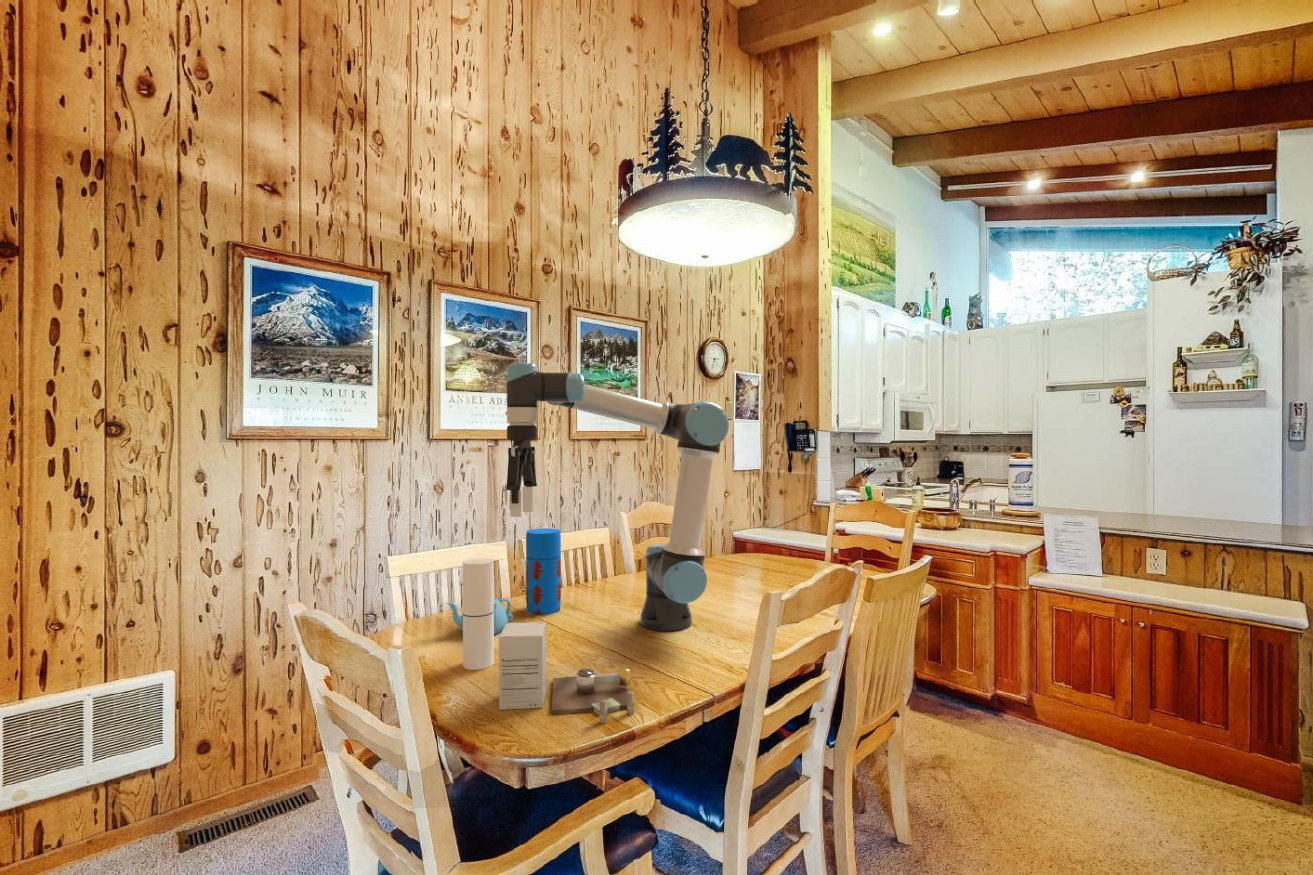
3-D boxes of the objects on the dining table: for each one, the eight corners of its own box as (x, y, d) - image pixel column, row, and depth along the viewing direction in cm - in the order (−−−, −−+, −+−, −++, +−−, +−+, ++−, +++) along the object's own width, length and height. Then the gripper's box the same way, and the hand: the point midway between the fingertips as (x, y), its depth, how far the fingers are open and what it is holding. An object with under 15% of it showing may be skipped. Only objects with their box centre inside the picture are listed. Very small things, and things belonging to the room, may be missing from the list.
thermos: (553, 616, 183) (553, 534, 183) (520, 614, 185) (520, 533, 185) (565, 606, 193) (565, 528, 193) (534, 604, 196) (534, 527, 195)
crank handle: (576, 693, 125) (576, 675, 125) (576, 685, 129) (576, 668, 129) (631, 690, 127) (631, 672, 127) (629, 682, 131) (629, 665, 131)
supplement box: (505, 691, 129) (505, 622, 129) (547, 689, 130) (547, 621, 130) (497, 710, 120) (497, 636, 120) (542, 708, 121) (542, 635, 121)
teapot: (519, 625, 175) (519, 589, 175) (494, 642, 160) (493, 603, 160) (474, 621, 178) (474, 587, 178) (445, 637, 163) (445, 600, 163)
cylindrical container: (466, 672, 140) (465, 565, 140) (460, 661, 146) (460, 559, 146) (496, 666, 143) (496, 562, 143) (490, 656, 149) (490, 556, 149)
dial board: (625, 676, 137) (625, 659, 137) (636, 721, 116) (636, 700, 116) (553, 681, 134) (553, 663, 134) (551, 727, 113) (551, 706, 113)
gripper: (521, 425, 163) (521, 508, 163) (491, 424, 142) (492, 519, 142) (548, 425, 162) (548, 509, 162) (522, 424, 141) (522, 520, 141)
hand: (522, 514), depth 152 cm, fingers open, 8 cm apart
